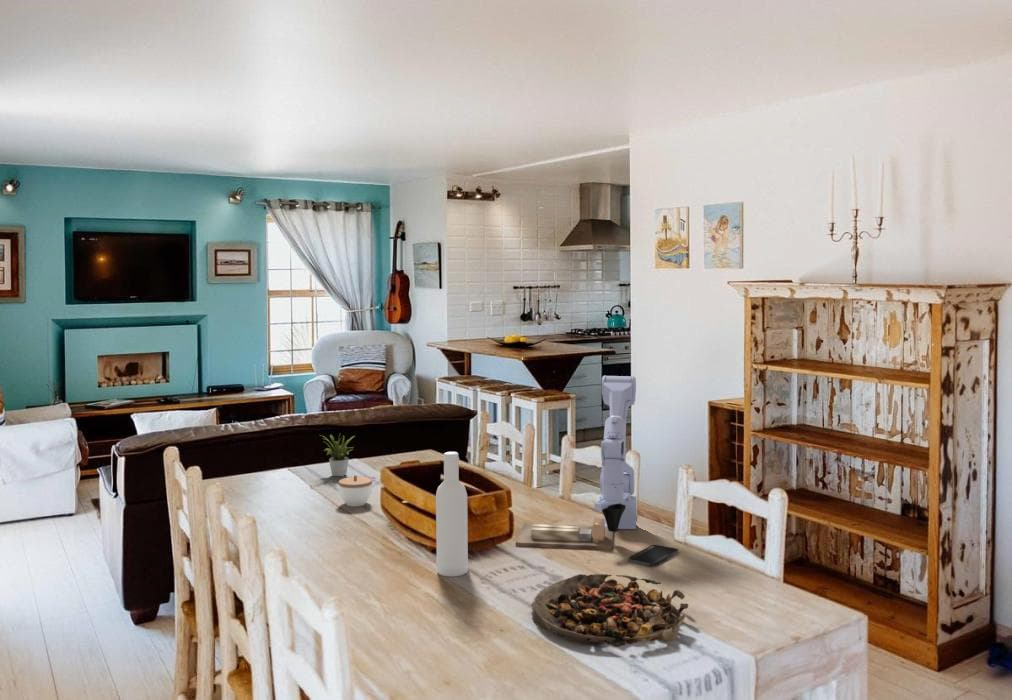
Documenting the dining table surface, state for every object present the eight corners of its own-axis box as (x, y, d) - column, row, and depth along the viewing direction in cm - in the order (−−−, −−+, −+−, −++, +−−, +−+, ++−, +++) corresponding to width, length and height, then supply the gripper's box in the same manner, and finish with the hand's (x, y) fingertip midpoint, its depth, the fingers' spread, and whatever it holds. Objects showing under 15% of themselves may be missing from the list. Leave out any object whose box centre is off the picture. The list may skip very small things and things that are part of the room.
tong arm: (579, 534, 240) (579, 526, 240) (578, 537, 238) (578, 528, 238) (533, 532, 243) (533, 523, 242) (532, 534, 241) (532, 525, 241)
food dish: (721, 630, 182) (722, 595, 181) (603, 675, 163) (604, 636, 162) (609, 577, 210) (609, 547, 209) (498, 611, 191) (497, 577, 190)
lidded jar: (379, 502, 280) (379, 474, 279) (357, 510, 271) (356, 481, 270) (354, 498, 285) (354, 470, 284) (332, 505, 276) (331, 476, 275)
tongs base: (613, 530, 248) (613, 518, 248) (611, 550, 230) (611, 536, 230) (523, 526, 252) (523, 514, 252) (515, 546, 234) (515, 533, 234)
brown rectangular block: (604, 534, 240) (604, 518, 239) (603, 541, 233) (604, 525, 233) (593, 534, 240) (593, 518, 240) (592, 541, 234) (592, 524, 233)
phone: (626, 558, 221) (653, 543, 233) (626, 562, 221) (653, 547, 233) (654, 564, 217) (680, 549, 228) (654, 569, 217) (680, 553, 229)
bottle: (429, 571, 214) (428, 453, 212) (452, 563, 220) (451, 448, 217) (451, 579, 209) (450, 457, 206) (474, 571, 215) (473, 452, 212)
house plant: (309, 479, 312) (308, 434, 310) (324, 470, 325) (323, 428, 324) (347, 480, 309) (346, 435, 308) (360, 472, 323) (359, 429, 321)
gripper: (615, 475, 243) (615, 522, 244) (585, 485, 232) (585, 534, 233) (637, 479, 238) (636, 527, 239) (607, 489, 227) (606, 539, 229)
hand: (612, 531), depth 236 cm, fingers closed
